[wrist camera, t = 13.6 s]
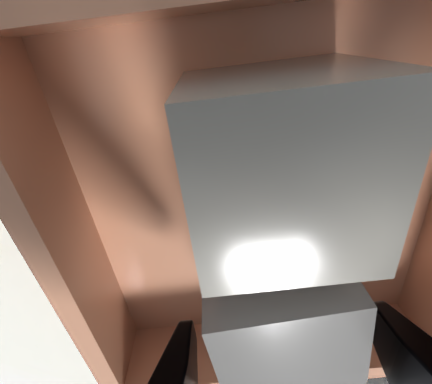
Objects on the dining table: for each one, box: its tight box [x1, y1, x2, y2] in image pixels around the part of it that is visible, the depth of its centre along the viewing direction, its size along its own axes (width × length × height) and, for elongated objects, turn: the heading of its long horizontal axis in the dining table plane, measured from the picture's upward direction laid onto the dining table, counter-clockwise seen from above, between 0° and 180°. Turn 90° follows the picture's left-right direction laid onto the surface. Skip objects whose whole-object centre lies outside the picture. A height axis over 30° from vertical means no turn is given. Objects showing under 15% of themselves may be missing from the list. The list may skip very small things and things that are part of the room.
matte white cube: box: [164, 53, 432, 298], centre depth 7 cm, size 4×4×4 cm
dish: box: [0, 0, 432, 384], centre depth 9 cm, size 13×13×3 cm
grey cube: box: [202, 282, 377, 384], centre depth 9 cm, size 4×4×4 cm
